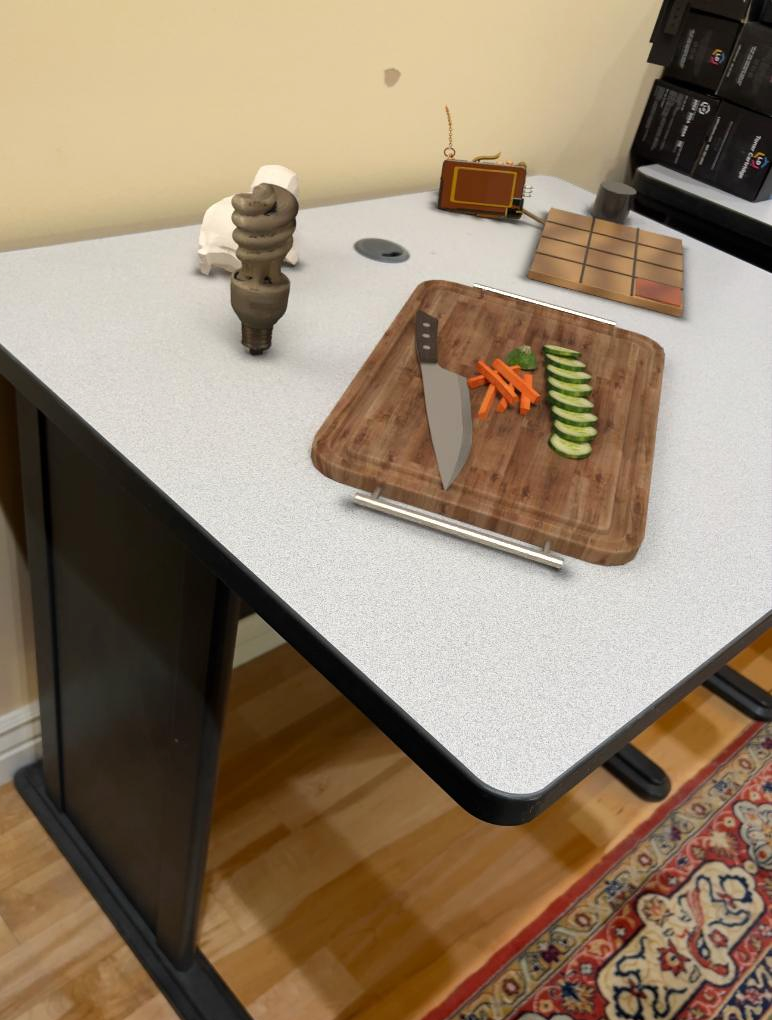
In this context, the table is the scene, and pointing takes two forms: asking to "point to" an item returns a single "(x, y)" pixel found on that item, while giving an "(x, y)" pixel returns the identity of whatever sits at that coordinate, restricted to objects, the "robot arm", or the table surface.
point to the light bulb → (261, 261)
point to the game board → (610, 261)
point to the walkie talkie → (483, 186)
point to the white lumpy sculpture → (219, 226)
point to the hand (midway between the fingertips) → (658, 54)
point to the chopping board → (504, 423)
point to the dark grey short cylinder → (613, 202)
